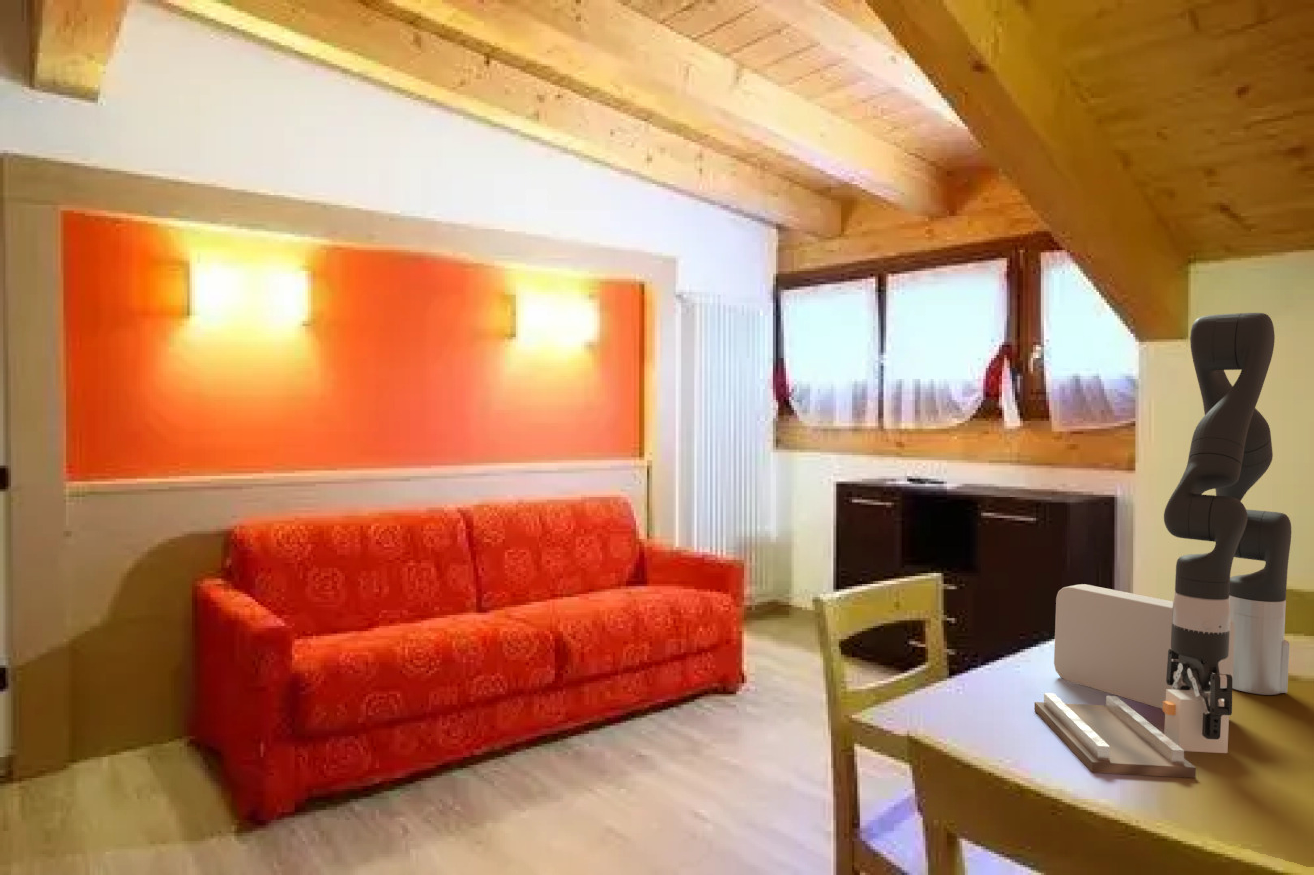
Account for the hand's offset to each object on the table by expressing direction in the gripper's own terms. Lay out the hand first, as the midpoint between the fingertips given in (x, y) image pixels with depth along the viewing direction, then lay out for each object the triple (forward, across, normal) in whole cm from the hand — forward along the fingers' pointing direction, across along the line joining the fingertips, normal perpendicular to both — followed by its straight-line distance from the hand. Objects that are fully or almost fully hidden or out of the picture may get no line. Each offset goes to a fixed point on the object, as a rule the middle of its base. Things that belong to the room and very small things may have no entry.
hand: (1195, 727), depth 130 cm
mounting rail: (+1, 0, +13) cm, 13 cm away
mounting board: (+3, 0, +13) cm, 13 cm away
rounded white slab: (+3, +22, -1) cm, 22 cm away
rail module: (+3, 0, 0) cm, 3 cm away
